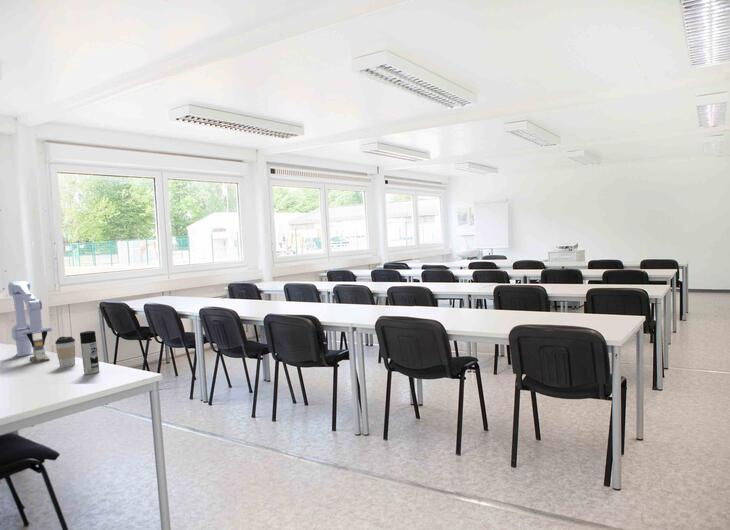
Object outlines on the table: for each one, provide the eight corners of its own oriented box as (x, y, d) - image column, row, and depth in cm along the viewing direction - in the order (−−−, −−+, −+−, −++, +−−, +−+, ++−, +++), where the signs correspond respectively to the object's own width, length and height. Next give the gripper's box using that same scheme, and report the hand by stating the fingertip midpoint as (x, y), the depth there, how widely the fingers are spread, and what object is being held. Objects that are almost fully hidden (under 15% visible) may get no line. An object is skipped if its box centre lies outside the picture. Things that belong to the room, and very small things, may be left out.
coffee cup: (81, 364, 278) (78, 335, 277) (63, 368, 270) (60, 339, 269) (71, 363, 282) (68, 335, 282) (54, 367, 275) (51, 338, 274)
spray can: (93, 374, 252) (88, 333, 251) (80, 374, 253) (76, 333, 252) (102, 371, 258) (98, 330, 257) (90, 371, 260) (86, 330, 259)
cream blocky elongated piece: (30, 358, 302) (29, 347, 302) (45, 356, 307) (44, 345, 306) (33, 363, 289) (32, 351, 288) (49, 360, 293) (48, 349, 293)
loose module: (33, 349, 298) (32, 340, 298) (42, 348, 301) (41, 338, 300) (34, 351, 294) (33, 341, 293) (43, 349, 296) (43, 339, 296)
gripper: (21, 324, 289) (23, 349, 290) (51, 320, 298) (54, 344, 298) (19, 323, 295) (22, 347, 295) (49, 319, 303) (52, 343, 304)
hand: (38, 346), depth 297 cm, fingers closed on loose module, 4 cm apart
